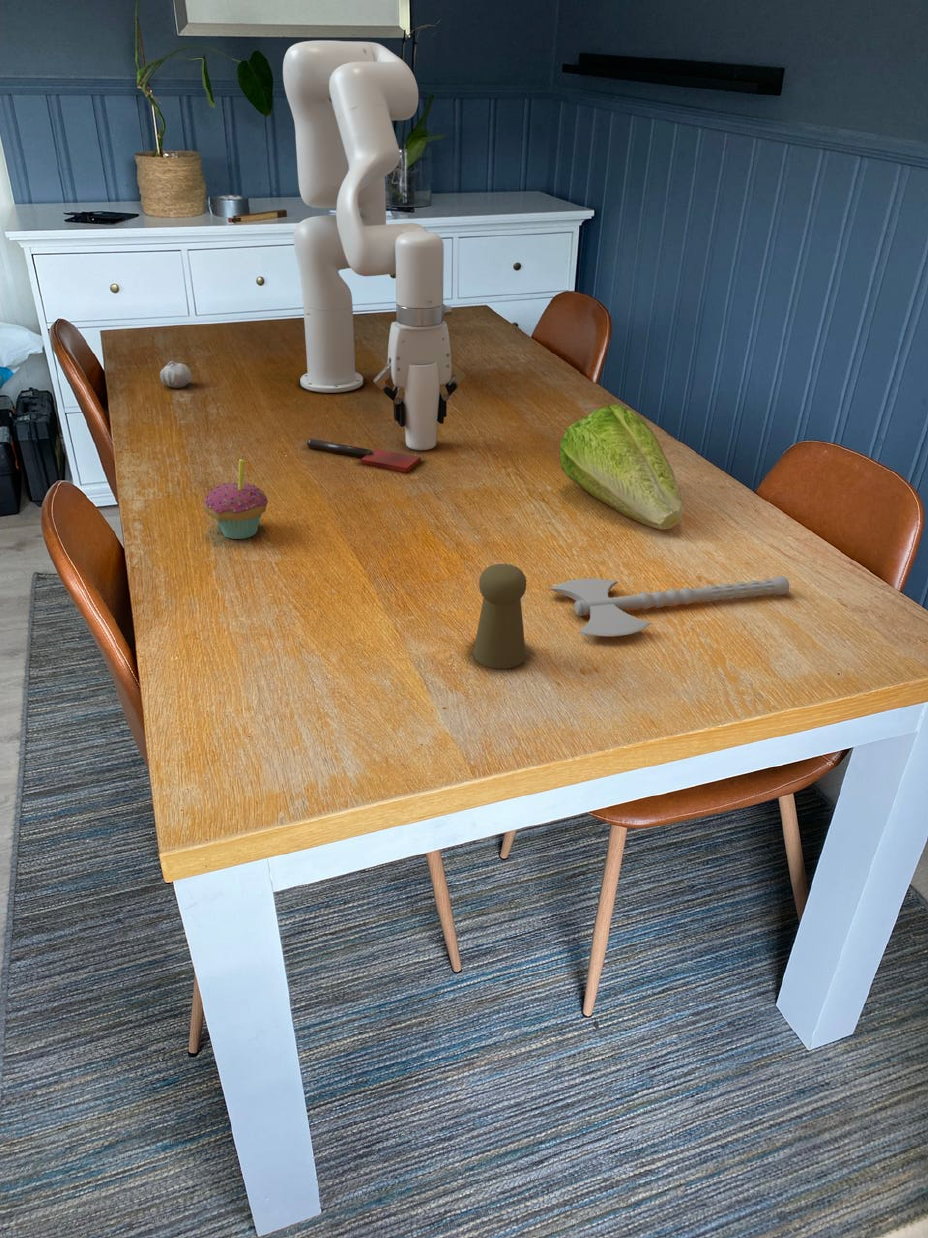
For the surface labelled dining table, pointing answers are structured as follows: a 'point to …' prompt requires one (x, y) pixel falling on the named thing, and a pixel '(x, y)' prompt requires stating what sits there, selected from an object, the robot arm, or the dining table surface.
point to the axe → (648, 601)
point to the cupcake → (236, 507)
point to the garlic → (175, 375)
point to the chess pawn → (501, 617)
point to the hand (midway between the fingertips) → (420, 421)
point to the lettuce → (622, 466)
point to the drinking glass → (421, 406)
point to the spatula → (370, 455)
